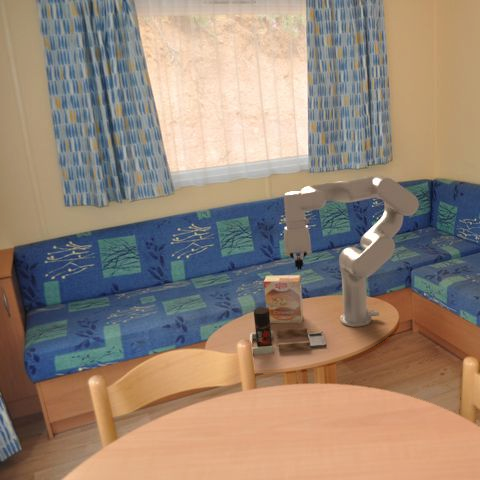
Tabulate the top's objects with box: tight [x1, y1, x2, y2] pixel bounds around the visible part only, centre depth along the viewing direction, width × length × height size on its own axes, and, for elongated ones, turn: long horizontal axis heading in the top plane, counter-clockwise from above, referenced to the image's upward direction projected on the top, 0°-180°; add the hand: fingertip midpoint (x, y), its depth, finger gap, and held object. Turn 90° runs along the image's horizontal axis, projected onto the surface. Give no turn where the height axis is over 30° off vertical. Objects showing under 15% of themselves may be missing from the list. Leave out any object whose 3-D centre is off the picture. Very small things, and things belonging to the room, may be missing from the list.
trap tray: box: [307, 331, 327, 349], centre depth 180 cm, size 6×10×1 cm, turn 177°
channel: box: [276, 327, 312, 352], centre depth 181 cm, size 12×12×3 cm
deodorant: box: [253, 306, 273, 347], centre depth 180 cm, size 6×6×15 cm
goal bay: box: [249, 330, 275, 355], centre depth 182 cm, size 9×13×2 cm
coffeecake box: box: [263, 274, 304, 324], centre depth 199 cm, size 15×7×20 cm, turn 77°
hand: (299, 268), depth 183 cm, fingers closed
